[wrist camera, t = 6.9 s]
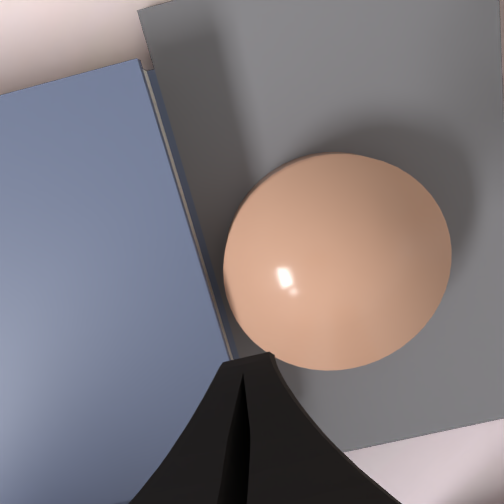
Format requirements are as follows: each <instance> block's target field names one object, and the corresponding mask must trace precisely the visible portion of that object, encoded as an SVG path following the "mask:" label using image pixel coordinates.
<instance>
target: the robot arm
mask: <svg viewBox="0 0 504 504" xmlns="http://www.w3.org/2000/svg"><path fill="white" fill-rule="evenodd" d="M128 504H402V503H400V502H399V501H398V500H396V499H395V498H394V497H393V496H392V495H390V494H389V493H388V492H387V491H386V490H384V489H383V488H382V487H381V486H380V485H378V484H377V483H376V482H375V481H374V480H373V479H371V478H370V477H369V476H368V475H367V474H365V473H364V472H363V471H362V470H361V469H360V468H358V467H357V466H356V465H355V464H354V463H353V462H352V461H351V460H350V459H349V458H348V457H347V456H346V455H345V454H344V453H343V452H342V451H341V450H340V449H339V448H338V447H337V446H336V445H335V444H334V443H333V442H332V441H331V440H330V439H329V438H328V437H327V436H326V435H325V433H324V432H323V431H322V430H321V429H320V428H319V427H318V425H317V424H316V423H315V422H314V421H313V419H312V418H311V417H310V416H309V414H308V413H307V412H306V411H305V409H304V408H303V407H302V405H301V404H300V403H299V401H298V400H297V398H296V397H295V395H294V394H293V392H292V391H291V390H290V388H289V387H288V385H287V383H286V382H285V380H284V378H283V376H282V374H281V373H280V370H279V368H278V366H277V363H276V359H275V355H274V354H272V353H271V352H265V353H261V354H256V355H252V356H248V357H243V358H239V359H235V360H230V361H226V362H222V364H221V365H220V367H219V369H218V371H217V372H216V374H215V376H214V378H213V380H212V382H211V384H210V386H209V388H208V389H207V391H206V393H205V395H204V397H203V399H202V400H201V402H200V404H199V405H198V407H197V409H196V411H195V412H194V414H193V416H192V417H191V419H190V421H189V422H188V424H187V426H186V427H185V429H184V430H183V432H182V433H181V435H180V436H179V438H178V439H177V441H176V442H175V444H174V445H173V447H172V448H171V450H170V451H169V453H168V454H167V456H166V457H165V459H164V460H163V461H162V463H161V464H160V465H159V467H158V468H157V470H156V471H155V472H154V473H153V475H152V476H151V477H150V478H149V480H148V481H147V482H146V483H145V485H144V486H143V487H142V488H141V490H140V491H139V492H138V493H137V494H136V495H135V497H134V498H133V499H132V500H131V501H130V502H129V503H128Z"/></svg>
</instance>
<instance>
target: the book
mask: <svg viewBox="0 0 504 504" xmlns="http://www.w3.org/2000/svg"><path fill="white" fill-rule="evenodd" d="M235 359H239V355H238V351H237V348H236V345H235V341H234V338H233V334H232V331H231V328H230V324H229V321H228V318H227V314H226V311H225V307H224V304H223V301H222V297H221V294H220V290H219V287H218V284H217V280H216V277H215V273H214V270H213V267H212V263H211V260H210V256H209V253H208V250H207V246H206V243H205V239H204V236H203V233H202V229H201V226H200V222H199V219H198V216H197V212H196V209H195V205H194V202H193V199H192V195H191V192H190V189H189V185H188V182H187V178H186V175H185V172H184V168H183V165H182V161H181V158H180V155H179V151H178V148H177V144H176V141H175V138H174V134H173V131H172V127H171V124H170V121H169V117H168V114H167V110H166V107H165V104H164V100H163V97H162V93H161V90H160V87H159V83H158V80H157V76H156V73H155V70H154V69H153V70H149V71H146V70H144V69H143V68H142V65H141V61H140V60H139V59H137V58H136V59H133V60H129V61H125V62H122V63H118V64H114V65H110V66H107V67H103V68H99V69H96V70H92V71H88V72H85V73H81V74H77V75H73V76H70V77H66V78H62V79H59V80H55V81H51V82H47V83H44V84H40V85H36V86H33V87H29V88H25V89H22V90H18V91H14V92H10V93H7V94H3V95H0V504H128V503H129V502H130V501H131V500H132V499H133V498H134V497H135V495H136V494H137V493H138V492H139V491H140V490H141V488H142V487H143V486H144V485H145V483H146V482H147V481H148V480H149V478H150V477H151V476H152V475H153V473H154V472H155V471H156V470H157V468H158V467H159V465H160V464H161V463H162V461H163V460H164V459H165V457H166V456H167V454H168V453H169V451H170V450H171V448H172V447H173V445H174V444H175V442H176V441H177V439H178V438H179V436H180V435H181V433H182V432H183V430H184V429H185V427H186V426H187V424H188V422H189V421H190V419H191V417H192V416H193V414H194V412H195V411H196V409H197V407H198V405H199V404H200V402H201V400H202V399H203V397H204V395H205V393H206V391H207V389H208V388H209V386H210V384H211V382H212V380H213V378H214V376H215V374H216V372H217V371H218V369H219V367H220V365H221V364H222V362H226V361H230V360H235Z"/></svg>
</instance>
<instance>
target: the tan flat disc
mask: <svg viewBox="0 0 504 504" xmlns="http://www.w3.org/2000/svg"><path fill="white" fill-rule="evenodd" d="M451 255H452V248H451V241H450V234H449V231H448V227H447V224H446V220H445V218H444V216H443V214H442V212H441V209H440V207H439V206H438V204H437V203H436V201H435V200H434V198H433V197H432V195H431V194H430V193H429V192H428V191H427V190H426V189H425V187H424V186H423V185H422V184H421V183H419V182H418V181H417V180H416V179H415V178H413V177H412V176H411V175H409V174H408V173H406V172H404V171H403V170H401V169H399V168H398V167H396V166H393V165H391V164H388V163H386V162H384V161H380V160H377V159H373V158H369V157H365V156H361V155H357V154H353V153H345V152H321V153H315V154H309V155H306V156H303V157H299V158H296V159H294V160H291V161H289V162H287V163H285V164H282V165H281V166H279V167H278V168H276V169H274V170H273V171H271V172H270V173H268V174H267V175H266V176H265V177H263V178H262V179H261V180H260V181H259V182H258V183H257V184H256V185H255V186H254V187H253V188H252V189H251V190H250V191H249V192H248V194H247V195H246V196H245V198H244V199H243V200H242V202H241V203H240V205H239V207H238V209H237V211H236V212H235V214H234V217H233V219H232V222H231V225H230V227H229V231H228V236H227V240H226V247H225V254H224V264H223V277H224V286H225V292H226V297H227V300H228V303H229V306H230V308H231V311H232V313H233V315H234V317H235V319H236V321H237V322H238V323H239V325H240V326H241V328H242V329H243V331H244V332H245V333H246V334H247V335H248V336H249V337H250V339H251V340H252V341H253V342H254V343H256V344H257V345H258V346H259V347H260V348H262V349H263V350H264V351H266V352H271V353H272V354H274V355H275V357H276V358H278V359H280V360H282V361H284V362H286V363H289V364H292V365H295V366H298V367H303V368H307V369H313V370H325V371H328V370H344V369H351V368H356V367H360V366H364V365H367V364H370V363H372V362H375V361H378V360H380V359H382V358H384V357H386V356H388V355H390V354H392V353H393V352H395V351H396V350H398V349H400V348H401V347H403V346H404V345H405V344H406V343H408V342H409V341H410V340H411V339H412V338H414V337H415V336H416V335H417V334H418V333H419V332H420V331H421V330H422V328H423V327H424V326H425V325H426V324H427V322H428V321H429V320H430V318H431V317H432V316H433V314H434V313H435V311H436V309H437V307H438V306H439V304H440V302H441V300H442V297H443V295H444V293H445V290H446V287H447V283H448V280H449V276H450V269H451Z"/></svg>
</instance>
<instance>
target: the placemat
mask: <svg viewBox="0 0 504 504" xmlns="http://www.w3.org/2000/svg"><path fill="white" fill-rule="evenodd" d="M137 12H138V15H139V19H140V22H141V26H142V29H143V32H144V36H145V39H146V43H147V46H148V49H149V53H150V56H151V60H152V63H153V66H154V70H155V73H156V76H157V80H158V83H159V87H160V90H161V93H162V97H163V100H164V104H165V107H166V110H167V114H168V117H169V121H170V124H171V127H172V131H173V134H174V138H175V141H176V144H177V148H178V151H179V155H180V158H181V161H182V165H183V168H184V172H185V175H186V178H187V182H188V185H189V189H190V192H191V195H192V199H193V202H194V205H195V209H196V212H197V216H198V219H199V222H200V226H201V229H202V233H203V236H204V239H205V243H206V246H207V250H208V253H209V256H210V260H211V263H212V267H213V270H214V273H215V277H216V280H217V284H218V287H219V290H220V294H221V297H222V301H223V304H224V307H225V311H226V314H227V318H228V321H229V324H230V328H231V331H232V334H233V338H234V341H235V345H236V348H237V351H238V355H239V358H243V357H248V356H252V355H256V354H261V353H265V352H266V351H264V350H263V349H262V348H260V347H259V346H258V345H257V344H256V343H254V342H253V341H252V340H251V339H250V337H249V336H248V335H247V334H246V333H245V332H244V331H243V329H242V328H241V326H240V325H239V323H238V322H237V321H236V319H235V317H234V315H233V313H232V311H231V308H230V306H229V303H228V300H227V297H226V292H225V286H224V277H223V264H224V254H225V247H226V240H227V236H228V231H229V227H230V225H231V222H232V219H233V217H234V214H235V212H236V211H237V209H238V207H239V205H240V203H241V202H242V200H243V199H244V198H245V196H246V195H247V194H248V192H249V191H250V190H251V189H252V188H253V187H254V186H255V185H256V184H257V183H258V182H259V181H260V180H261V179H262V178H263V177H265V176H266V175H267V174H268V173H270V172H271V171H273V170H274V169H276V168H278V167H279V166H281V165H282V164H285V163H287V162H289V161H291V160H294V159H296V158H299V157H303V156H306V155H309V154H315V153H321V152H345V153H353V154H357V155H361V156H365V157H369V158H373V159H377V160H380V161H384V162H386V163H388V164H391V165H393V166H396V167H398V168H399V169H401V170H403V171H404V172H406V173H408V174H409V175H411V176H412V177H413V178H415V179H416V180H417V181H418V182H419V183H421V184H422V185H423V186H424V187H425V189H426V190H427V191H428V192H429V193H430V194H431V195H432V197H433V198H434V200H435V201H436V203H437V204H438V206H439V207H440V209H441V212H442V214H443V216H444V218H445V220H446V224H447V227H448V231H449V234H450V241H451V248H452V255H451V269H450V276H449V280H448V283H447V287H446V290H445V293H444V295H443V297H442V300H441V302H440V304H439V306H438V307H437V309H436V311H435V313H434V314H433V316H432V317H431V318H430V320H429V321H428V322H427V324H426V325H425V326H424V327H423V328H422V330H421V331H420V332H419V333H418V334H417V335H416V336H415V337H414V338H412V339H411V340H410V341H409V342H408V343H406V344H405V345H404V346H403V347H401V348H400V349H398V350H396V351H395V352H393V353H392V354H390V355H388V356H386V357H384V358H382V359H380V360H378V361H375V362H372V363H370V364H367V365H364V366H360V367H356V368H351V369H344V370H328V371H325V370H313V369H307V368H303V367H298V366H295V365H292V364H289V363H286V362H284V361H282V360H280V359H278V358H276V357H275V359H276V363H277V366H278V368H279V370H280V373H281V374H282V376H283V378H284V380H285V382H286V383H287V385H288V387H289V388H290V390H291V391H292V392H293V394H294V395H295V397H296V398H297V400H298V401H299V403H300V404H301V405H302V407H303V408H304V409H305V411H306V412H307V413H308V414H309V416H310V417H311V418H312V419H313V421H314V422H315V423H316V424H317V425H318V427H319V428H320V429H321V430H322V431H323V432H324V433H325V435H326V436H327V437H328V438H329V439H330V440H331V441H332V442H333V443H334V444H335V445H336V446H337V447H338V448H339V449H340V450H341V451H342V452H348V451H352V450H357V449H362V448H366V447H371V446H376V445H381V444H385V443H390V442H395V441H399V440H404V439H409V438H414V437H418V436H423V435H428V434H432V433H437V432H442V431H446V430H451V429H456V428H461V427H465V426H470V425H475V424H479V423H484V422H489V421H494V420H498V419H503V418H504V104H503V80H502V55H501V31H500V6H499V0H173V1H170V2H166V3H163V4H159V5H155V6H152V7H148V8H144V9H141V10H137Z"/></svg>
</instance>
